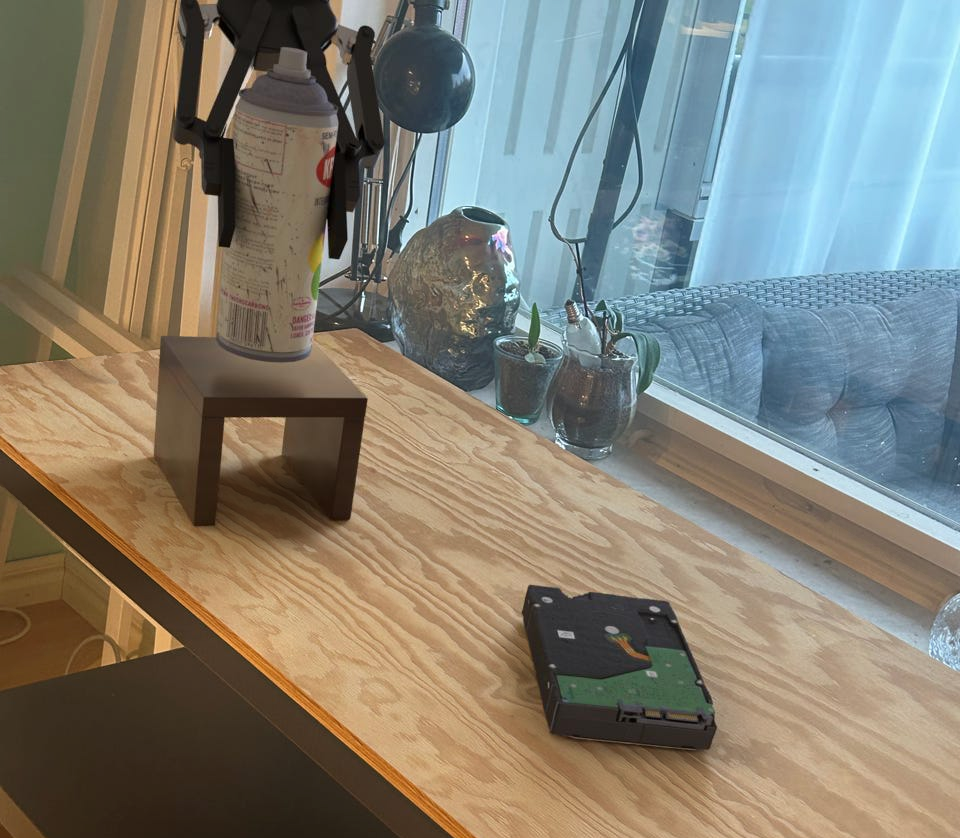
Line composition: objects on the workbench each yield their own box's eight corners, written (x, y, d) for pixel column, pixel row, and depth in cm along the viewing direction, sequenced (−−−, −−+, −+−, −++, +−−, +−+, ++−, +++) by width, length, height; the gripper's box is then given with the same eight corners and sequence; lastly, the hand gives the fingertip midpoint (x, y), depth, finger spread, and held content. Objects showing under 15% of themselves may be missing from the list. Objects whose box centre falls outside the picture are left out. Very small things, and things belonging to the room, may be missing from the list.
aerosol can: (315, 367, 94) (351, 67, 84) (217, 356, 93) (242, 49, 83) (307, 335, 100) (340, 50, 90) (215, 324, 98) (239, 33, 88)
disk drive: (516, 618, 92) (548, 740, 79) (524, 582, 90) (558, 700, 78) (660, 633, 94) (713, 755, 81) (669, 598, 92) (725, 716, 79)
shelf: (153, 456, 104) (160, 335, 99) (299, 454, 109) (313, 339, 104) (193, 526, 95) (203, 397, 90) (350, 520, 100) (368, 398, 95)
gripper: (396, 8, 101) (410, 284, 96) (128, -38, 95) (127, 255, 90) (422, -63, 94) (439, 230, 89) (135, -117, 88) (135, 195, 83)
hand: (283, 242), depth 89 cm, fingers closed on aerosol can, 7 cm apart
